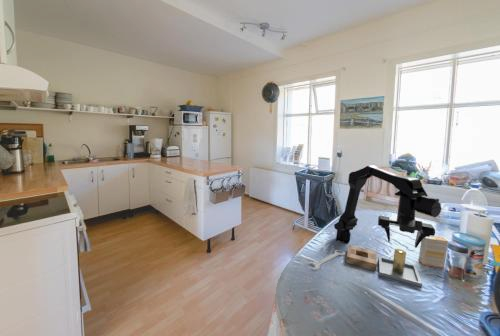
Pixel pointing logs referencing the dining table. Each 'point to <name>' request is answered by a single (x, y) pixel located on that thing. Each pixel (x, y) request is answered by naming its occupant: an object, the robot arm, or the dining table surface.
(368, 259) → the pin block
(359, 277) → the dining table surface
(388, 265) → the tray
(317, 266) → the wrench
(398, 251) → the brass pin
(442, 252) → the supplement box
